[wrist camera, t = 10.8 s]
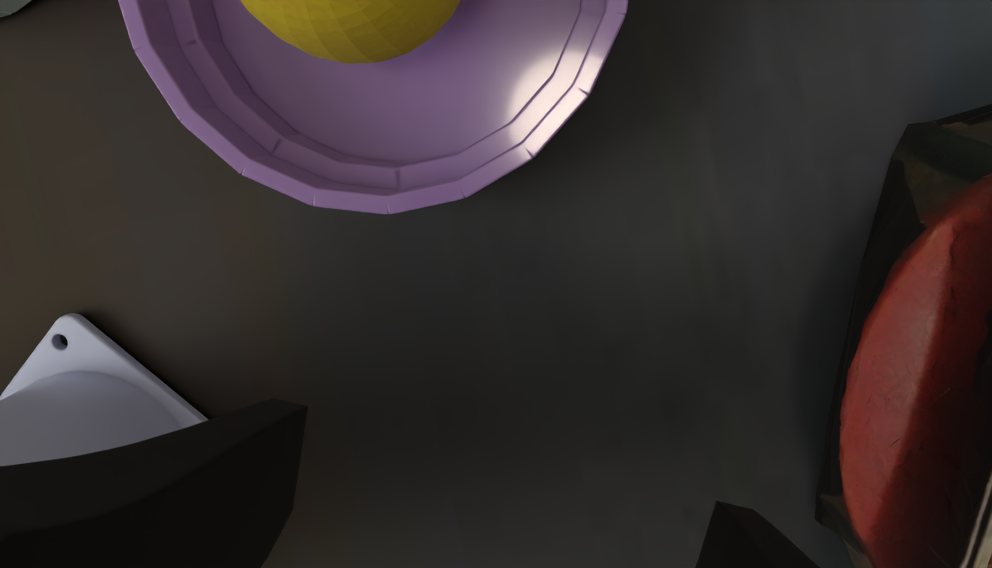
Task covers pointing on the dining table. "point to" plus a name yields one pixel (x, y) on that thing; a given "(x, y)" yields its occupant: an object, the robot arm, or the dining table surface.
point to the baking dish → (919, 363)
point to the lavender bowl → (377, 97)
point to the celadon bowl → (11, 6)
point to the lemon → (353, 25)
